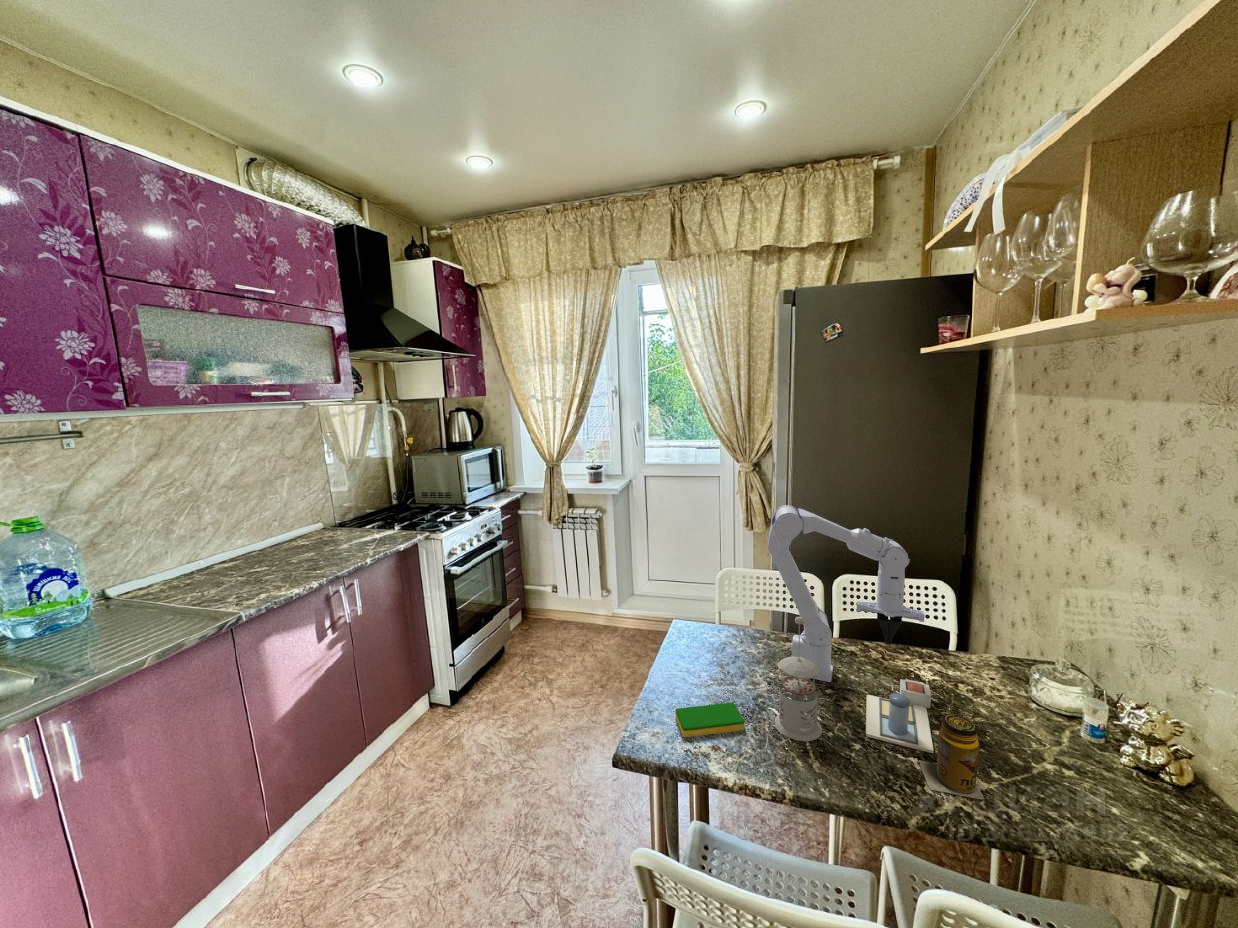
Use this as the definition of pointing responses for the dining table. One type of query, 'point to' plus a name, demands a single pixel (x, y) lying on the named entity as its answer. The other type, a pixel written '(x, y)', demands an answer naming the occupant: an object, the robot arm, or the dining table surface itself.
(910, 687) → the button
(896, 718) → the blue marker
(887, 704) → the sheet
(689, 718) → the dish sponge
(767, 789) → the dining table surface
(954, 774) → the condiment
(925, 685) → the button housing
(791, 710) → the french press
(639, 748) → the dining table surface
